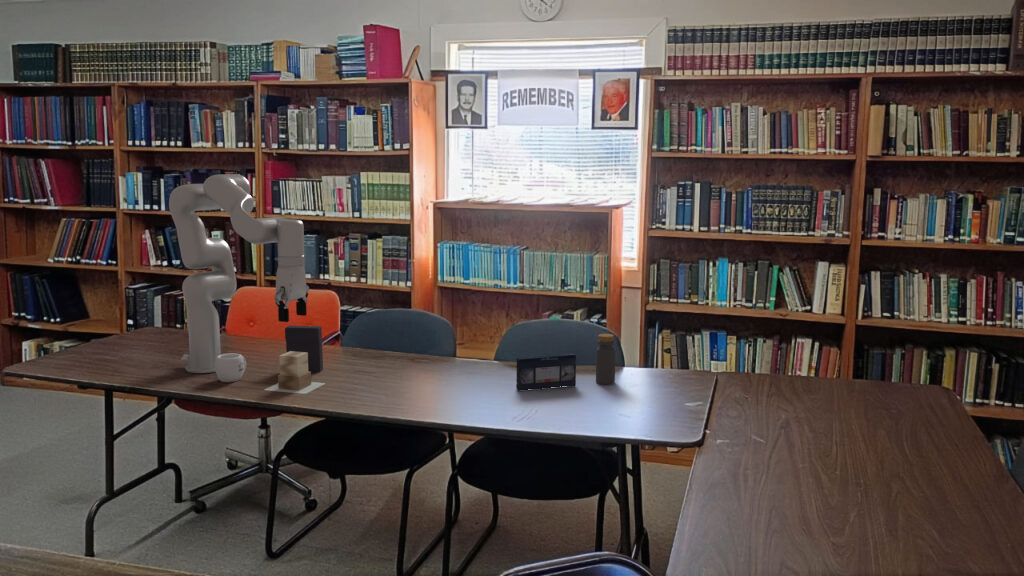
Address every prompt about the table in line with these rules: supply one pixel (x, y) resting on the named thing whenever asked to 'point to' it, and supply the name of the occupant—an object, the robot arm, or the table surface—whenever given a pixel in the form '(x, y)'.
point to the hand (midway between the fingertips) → (292, 318)
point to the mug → (230, 367)
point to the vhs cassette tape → (546, 371)
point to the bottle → (605, 360)
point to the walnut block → (294, 381)
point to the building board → (302, 391)
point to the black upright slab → (306, 344)
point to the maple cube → (293, 363)
